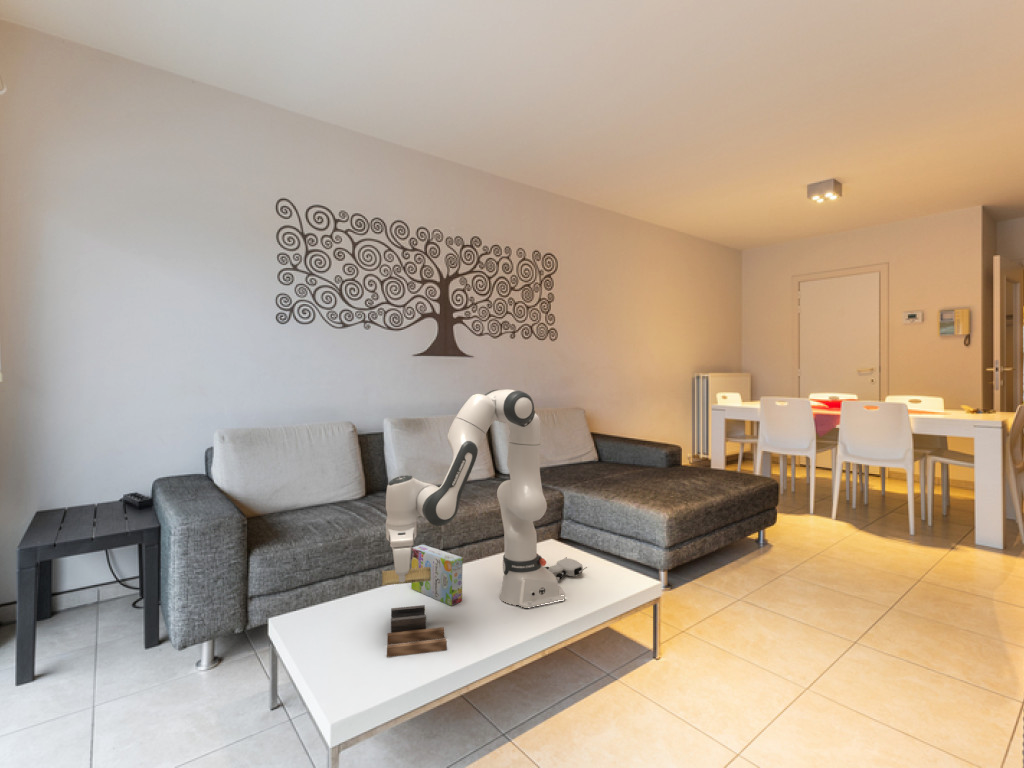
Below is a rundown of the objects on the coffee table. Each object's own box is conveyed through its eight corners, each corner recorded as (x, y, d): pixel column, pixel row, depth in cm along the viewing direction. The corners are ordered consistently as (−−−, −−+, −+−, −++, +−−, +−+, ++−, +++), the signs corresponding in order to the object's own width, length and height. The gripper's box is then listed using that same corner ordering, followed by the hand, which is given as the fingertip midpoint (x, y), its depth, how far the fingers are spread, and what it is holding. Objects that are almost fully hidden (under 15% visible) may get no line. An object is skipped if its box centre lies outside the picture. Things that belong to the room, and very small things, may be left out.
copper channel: (443, 635, 148) (443, 627, 148) (446, 650, 140) (446, 641, 140) (387, 641, 144) (387, 633, 144) (387, 657, 136) (387, 648, 136)
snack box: (463, 601, 170) (463, 556, 170) (451, 607, 166) (451, 561, 166) (422, 584, 184) (422, 543, 184) (410, 589, 180) (410, 547, 180)
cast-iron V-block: (424, 621, 156) (424, 605, 156) (426, 634, 149) (426, 617, 149) (391, 624, 154) (391, 608, 154) (391, 637, 146) (391, 620, 146)
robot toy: (557, 588, 183) (588, 576, 191) (557, 576, 183) (588, 564, 191) (537, 576, 194) (568, 565, 202) (537, 565, 193) (567, 554, 201)
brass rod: (429, 577, 155) (429, 564, 154) (430, 583, 151) (430, 569, 151) (382, 582, 151) (382, 569, 151) (382, 588, 148) (382, 574, 147)
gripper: (390, 522, 160) (391, 565, 160) (390, 543, 140) (390, 593, 140) (411, 520, 161) (411, 563, 162) (413, 541, 141) (414, 590, 142)
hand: (402, 577), depth 151 cm, fingers closed on brass rod, 4 cm apart
